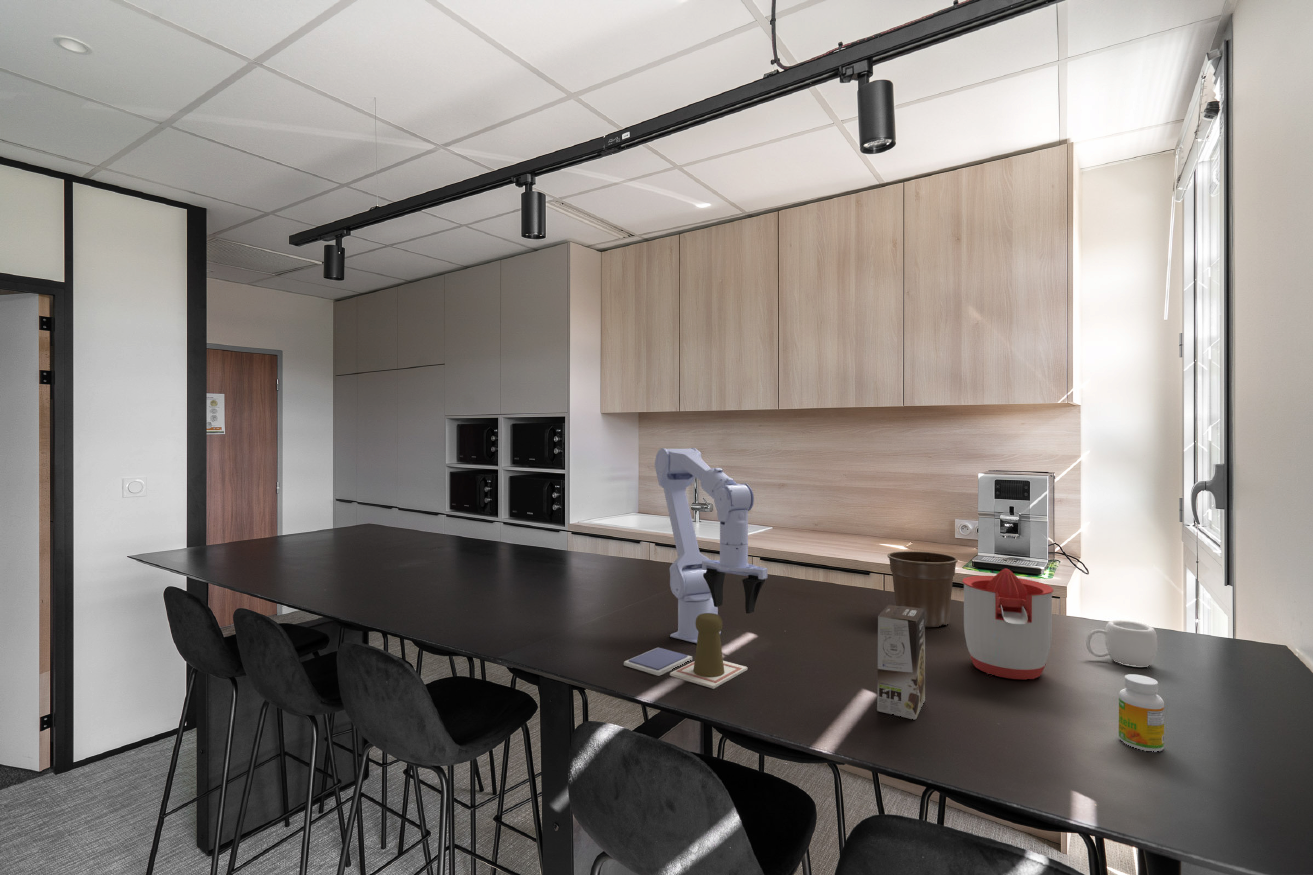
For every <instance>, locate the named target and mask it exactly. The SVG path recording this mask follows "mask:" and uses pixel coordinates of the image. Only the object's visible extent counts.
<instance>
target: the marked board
mask: <svg viewBox="0 0 1313 875" xmlns="http://www.w3.org/2000/svg"><path fill="white" fill-rule="evenodd" d="M694 662H695V660H694V661H692V662H690V663H687V664H686V665H685V664H684V666H683V665H682V666H681V667H680V668H679V667H678V669H677V668H676V669H675V670H673V671H671V672H669V676H671V677H673V678H677V679H680V680H684V681H686V682H689V683H693V684H697V685H700V686H703V687H707V688H710V689H713V690H714V689H716V688H717V687H719V686H720V685H723V684H725V683H726V682H728V681H730V680H732V679H733V678H735V677H737V676H739V675H740V674H742V673H744V672H745V671H748V667H747V666H745V665H740V664H737V663H733V662H730V661H726V660H723V664H724V672H725V673H724V674H723V675H721V676H718V677H702V676H698V675H696V674H695V673H694V672H693V669H694Z"/></svg>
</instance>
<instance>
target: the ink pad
mask: <svg viewBox="0 0 1313 875" xmlns="http://www.w3.org/2000/svg"><path fill="white" fill-rule="evenodd" d="M690 660H691V661H693V656H692V655H688V654H684V653H680V652H676V651H674V650H673V651H672V650H669V649H666V648H662V647H656V648H653V649H651V650H648V651H645V652H643V653H642V654H639V655H637V656H634V657H632V658H630V659H627V660H625V661H623V666H625V667H629V668H632V669H635V670H638V671H641V672H644V673H647V674H652V675H654V676H657V677H660V676H661V675H662V676H663V675H664V674H667V673H668V672H670V671H672V669H673V668H675V667H677V666H679V667H680V665H681V666H683V665H685V664H686V663H685V662H687V661H689V662H691V661H690ZM684 663H685V664H684ZM687 663H688V662H687ZM682 664H683V665H682ZM677 668H678V667H677ZM675 669H676V668H675ZM673 670H674V669H673Z"/></svg>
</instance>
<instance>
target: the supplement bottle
mask: <svg viewBox="0 0 1313 875" xmlns="http://www.w3.org/2000/svg"><path fill="white" fill-rule="evenodd" d="M1123 679H1124V682H1123V683H1124V687H1126V688H1123V689H1121V690H1120V691H1119V692H1118V739H1119V738H1120V739H1121V740H1122V741H1123V742H1125V743H1126V744H1127V745H1126V744H1125V745H1126V746H1128V745H1129V746H1128V747H1130V746H1131V747H1130V748H1132V747H1134V748H1133V749H1135V748H1137V749H1136V750H1138V749H1141V750H1140V751H1142V750H1144V751H1143V752H1146V751H1152V752H1151V753H1158V752H1157V751H1159V752H1161V751H1163V750H1164V748H1165V702H1164V700H1163V698H1162V697H1161V696H1160V695H1158V694H1157V693H1159V682H1158V681H1157V680H1156V679H1155V678H1152V677H1149V676H1146V675H1141V674H1134V673H1133V674H1131V673H1130V674H1125V675H1124V678H1123ZM1120 739H1119V740H1120ZM1123 742H1122V743H1123ZM1153 751H1154V752H1153Z"/></svg>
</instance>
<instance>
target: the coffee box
mask: <svg viewBox="0 0 1313 875" xmlns="http://www.w3.org/2000/svg"><path fill="white" fill-rule="evenodd" d="M876 662H877V665H876V666H877V667H876V668H877V675H876V677H877V680H876V682H877V689H876V690H877V691H876V692H877V693H876V694H877V695H876V696H877V697H876V702H877V703H876V704H877V705H876V711H877V712H880V713H885V714H888V715H892V714H894V715H893V716H897V717H900V716H901V717H900V718H906V719H910V720H912V719H913V720H917V718H918V717H919V714H920V711H921V710H922V708H923V705H924V704H923V703H925V702H926V627H925V609H921V608H914V607H905V606H895V604H894V605H893V604H887V606H886V607H885V608H883V610H882V611H880V612H879V614H878V615H877V661H876ZM921 707H922V708H921Z"/></svg>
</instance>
